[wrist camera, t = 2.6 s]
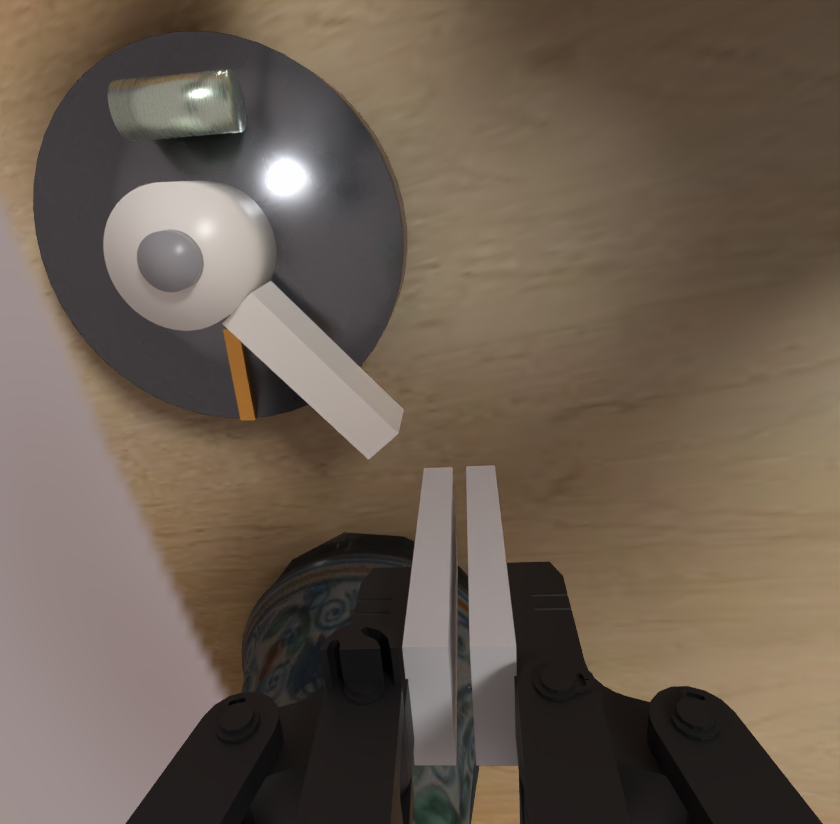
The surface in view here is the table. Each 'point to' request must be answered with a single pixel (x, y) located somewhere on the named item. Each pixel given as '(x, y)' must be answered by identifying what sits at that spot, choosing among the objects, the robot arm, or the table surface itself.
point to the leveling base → (237, 166)
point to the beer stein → (333, 609)
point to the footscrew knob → (236, 296)
